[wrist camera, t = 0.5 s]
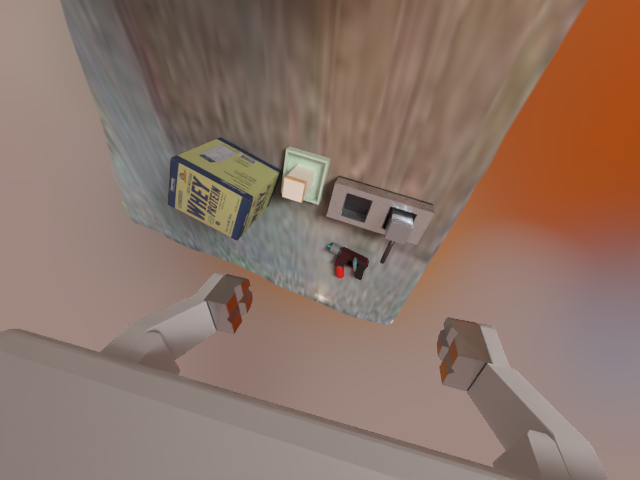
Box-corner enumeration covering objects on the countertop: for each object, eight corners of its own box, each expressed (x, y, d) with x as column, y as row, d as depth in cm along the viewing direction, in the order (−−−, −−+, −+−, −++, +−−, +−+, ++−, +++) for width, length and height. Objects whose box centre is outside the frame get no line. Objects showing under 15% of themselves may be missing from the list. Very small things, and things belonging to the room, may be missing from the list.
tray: (289, 146, 53) (286, 148, 51) (330, 158, 52) (328, 161, 51) (283, 189, 59) (280, 192, 57) (320, 201, 58) (318, 204, 57)
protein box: (269, 206, 63) (237, 242, 50) (212, 176, 62) (165, 204, 49) (283, 170, 56) (250, 200, 44) (219, 135, 56) (167, 156, 43)
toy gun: (330, 237, 64) (325, 248, 60) (373, 258, 64) (372, 270, 60) (317, 263, 69) (312, 275, 66) (356, 282, 70) (354, 294, 66)
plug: (297, 164, 54) (284, 177, 48) (316, 169, 54) (304, 183, 47) (294, 181, 56) (281, 196, 50) (312, 187, 56) (301, 203, 50)
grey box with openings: (338, 175, 54) (330, 192, 47) (432, 204, 52) (437, 225, 45) (325, 227, 62) (316, 247, 55) (405, 253, 60) (406, 277, 53)
